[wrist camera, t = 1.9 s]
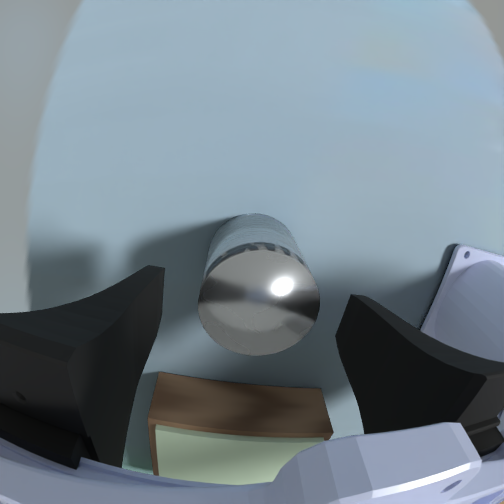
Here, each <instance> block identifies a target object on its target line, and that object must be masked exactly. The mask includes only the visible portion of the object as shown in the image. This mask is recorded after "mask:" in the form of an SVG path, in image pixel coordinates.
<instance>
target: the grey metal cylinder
mask: <svg viewBox="0 0 504 504" xmlns="http://www.w3.org/2000/svg"><path fill="white" fill-rule="evenodd" d="M319 306H320V296H319V291H318V288H317V285H316V283H315V281H314V278H313V276H312V274H311V272H310V270H309V268H308V266H307V264H306V262H305V260H304V258H303V256H302V254H301V252H300V250H299V248H298V246H297V244H296V242H295V240H294V238H293V236H292V234H291V233H290V231H289V230H288V229H287V227H286V226H284V225H283V224H282V223H281V222H280V221H278V220H276V219H275V218H273V217H270V216H267V215H263V214H256V213H255V214H244V215H240V216H237V217H235V218H232V219H231V220H229V221H227V222H226V223H225V224H223V225H222V226H221V227H220V228H219V229H218V230H217V232H216V233H215V235H214V237H213V238H212V241H211V243H210V247H209V252H208V257H207V261H206V266H205V271H204V276H203V280H202V285H201V290H200V295H199V300H198V311H199V317H200V320H201V323H202V325H203V327H204V329H205V330H206V332H207V333H208V334H209V336H210V337H211V338H212V339H213V340H214V341H215V342H217V343H218V344H219V345H221V346H222V347H224V348H226V349H228V350H230V351H233V352H236V353H239V354H244V355H253V356H260V355H269V354H274V353H278V352H280V351H283V350H285V349H287V348H289V347H291V346H293V345H295V344H296V343H297V342H299V341H300V340H301V339H302V338H303V337H304V336H305V335H306V334H307V333H308V332H309V331H310V329H311V328H312V326H313V325H314V323H315V321H316V318H317V316H318V312H319Z"/></svg>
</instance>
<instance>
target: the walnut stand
mask: <svg viewBox="0 0 504 504" xmlns="http://www.w3.org/2000/svg"><path fill="white" fill-rule="evenodd" d="M148 429H149V440H150V449H151V458H152V466H153V474H154V475H155V476H161V477H167V478H173V479H180V480H187V481H195V482H204V483H215V484H228V485H246V484H256V483H264V482H273V480H274V479H275V477H276V476H277V474H278V472H279V471H280V469H281V468H282V467H283V466H284V465H285V464H286V463H287V462H288V461H289V460H291V459H292V458H293V457H294V456H295V455H296V454H297V453H299V452H300V451H302V450H304V449H307V448H309V447H312V446H314V445H316V444H318V443H321V442H323V441H326V440H329V439H330V437H331V436H332V434H333V433H334V432H333V429H332V425H331V422H330V418H329V415H328V411H327V408H326V405H325V401H324V398H323V394H322V391H321V389H319V388H294V387H277V386H263V385H252V384H242V383H232V382H224V381H216V380H208V379H201V378H194V377H187V376H181V375H175V374H169V373H164V372H159V374H158V378H157V382H156V386H155V390H154V394H153V398H152V402H151V406H150V410H149V414H148Z"/></svg>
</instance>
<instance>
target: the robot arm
mask: <svg viewBox="0 0 504 504" xmlns="http://www.w3.org/2000/svg"><path fill="white" fill-rule="evenodd" d="M465 253H466V254H465ZM464 254H465V256H464ZM164 272H165V268H162V267H156V266H150V265H148V266H146V267H144V268H143V269H141V270H139V271H138V272H136V273H134V274H133V275H131V276H129V277H128V278H126V279H124V280H122V281H121V282H119V283H117V284H115V285H113V286H111V287H109V288H107V289H105V290H103V291H101V292H99V293H97V294H94V295H92V296H90V297H87V298H84V299H82V300H79V301H76V302H72V303H69V304H65V305H61V306H58V307H54V308H49V309H44V310H37V311H30V312H22V313H21V312H20V313H0V504H499V503H501V502H502V501H504V256H502V255H498V254H495V253H491V252H488V251H484V250H481V249H477V248H474V247H470V246H466V245H463V244H459V245H457V246H456V247H455V249H454V251H453V254H452V257H451V260H450V262H449V265H448V268H447V270H446V273H445V275H444V278H443V280H442V283H441V285H440V288H439V290H438V292H437V295H436V297H435V299H434V302H433V304H432V306H431V308H430V310H429V313H428V315H427V317H426V319H425V321H424V323H423V325H422V327H421V329H420V330H418V329H417V328H415V327H413V326H412V325H410V324H409V323H407V322H405V321H404V320H402V319H401V318H399V317H398V316H396V315H395V314H393V313H392V312H391V311H389V310H388V309H386V308H385V307H383V306H382V305H380V304H378V303H377V302H375V301H374V300H372V299H370V298H368V297H366V296H362V295H353V294H351V296H350V298H349V301H348V304H347V307H346V309H345V312H344V315H343V317H342V320H341V323H340V325H339V328H338V330H337V333H336V335H335V337H336V342H337V347H338V351H339V355H340V358H341V361H342V364H343V366H344V369H345V371H346V374H347V377H348V379H349V382H350V384H351V387H352V389H353V392H354V395H355V397H356V400H357V403H358V406H359V410H360V415H361V419H362V423H363V428H364V434H363V435H351V436H347V437H342V438H337V439H332V440H326V441H323V442H321V443H318V444H316V445H314V446H312V447H309V448H307V449H304V450H302V451H300V452H299V453H297V454H296V455H295V456H294V457H293V458H292V459H291V460H289V461H288V462H287V463H286V464H285V465H284V466H283V467H282V468H281V469H280V471H279V472H278V474H277V476H276V477H275V479H274V480H273V482H264V483H256V484H246V485H228V484H215V483H204V482H195V481H187V480H180V479H173V478H167V477H161V476H155V475H150V474H145V473H140V472H136V471H131V470H127V469H123V468H122V461H123V454H124V447H125V441H126V435H127V430H128V425H129V420H130V415H131V410H132V406H133V401H134V397H135V393H136V389H137V386H138V383H139V379H140V377H141V374H142V372H143V369H144V366H145V364H146V361H147V359H148V356H149V354H150V351H151V349H152V346H153V344H154V341H155V339H156V336H157V332H158V328H159V324H160V320H161V316H162V303H163V286H164Z"/></svg>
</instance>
